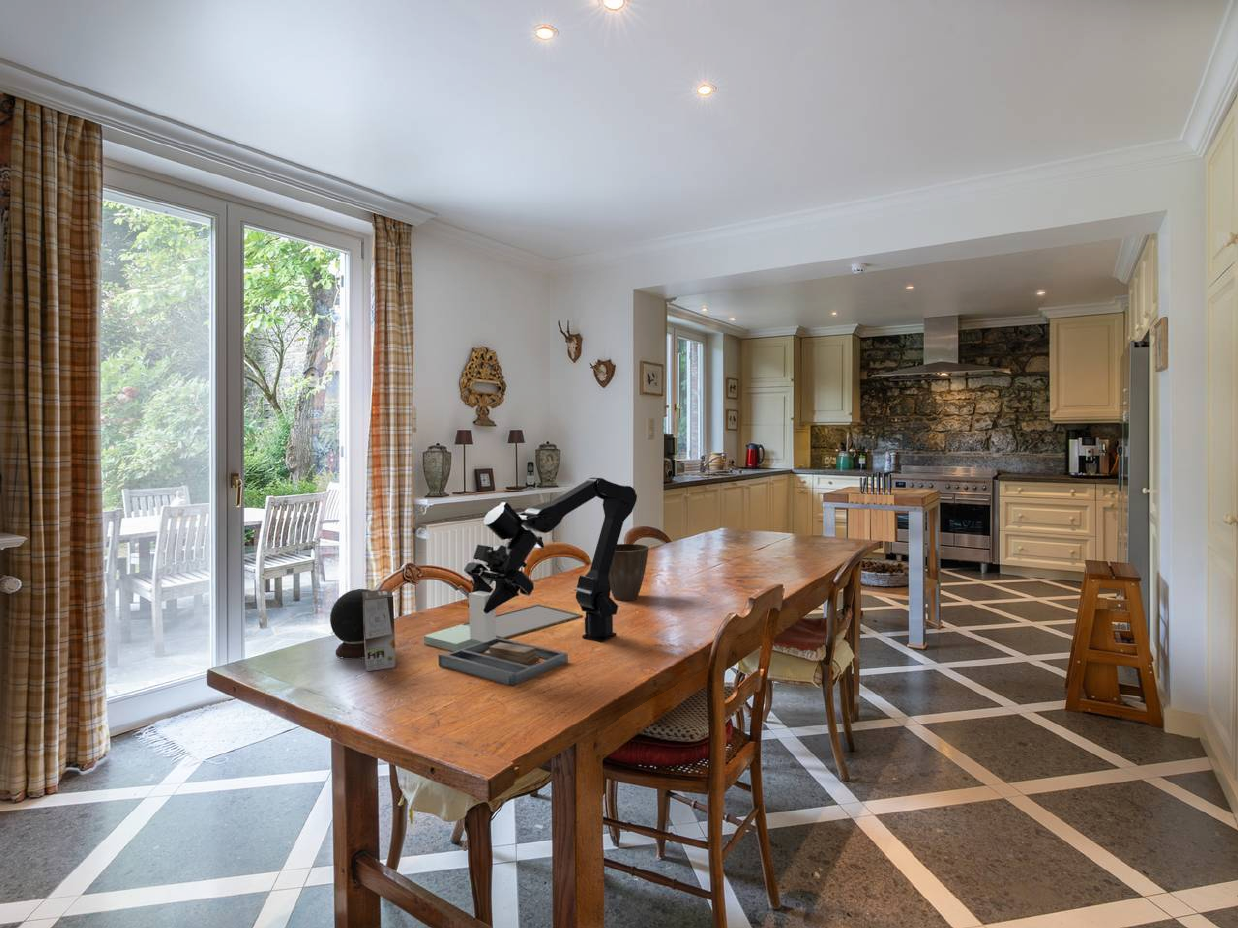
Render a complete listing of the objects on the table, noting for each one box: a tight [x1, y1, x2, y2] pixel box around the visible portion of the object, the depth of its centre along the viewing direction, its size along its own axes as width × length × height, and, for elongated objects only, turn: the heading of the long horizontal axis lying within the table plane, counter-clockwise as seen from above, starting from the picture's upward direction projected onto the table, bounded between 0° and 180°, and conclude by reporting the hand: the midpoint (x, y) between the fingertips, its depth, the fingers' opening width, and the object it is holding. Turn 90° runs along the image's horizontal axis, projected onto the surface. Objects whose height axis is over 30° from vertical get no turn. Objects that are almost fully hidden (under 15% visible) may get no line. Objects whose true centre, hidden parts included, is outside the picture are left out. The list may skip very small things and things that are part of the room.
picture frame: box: [458, 604, 584, 640], centre depth 186 cm, size 19×1×28 cm
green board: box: [423, 623, 482, 652], centre depth 168 cm, size 12×12×2 cm
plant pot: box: [609, 543, 649, 602], centre depth 210 cm, size 15×15×16 cm
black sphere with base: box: [329, 588, 372, 659], centre depth 162 cm, size 13×13×15 cm
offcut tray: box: [438, 637, 569, 687], centre depth 151 cm, size 23×18×2 cm
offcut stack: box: [483, 642, 540, 666], centre depth 153 cm, size 12×5×4 cm, turn 65°
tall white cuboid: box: [468, 591, 496, 642], centre depth 147 cm, size 5×3×10 cm, turn 53°
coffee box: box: [363, 588, 396, 672], centre depth 152 cm, size 9×6×16 cm
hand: (477, 610), depth 146 cm, fingers closed on tall white cuboid, 5 cm apart
